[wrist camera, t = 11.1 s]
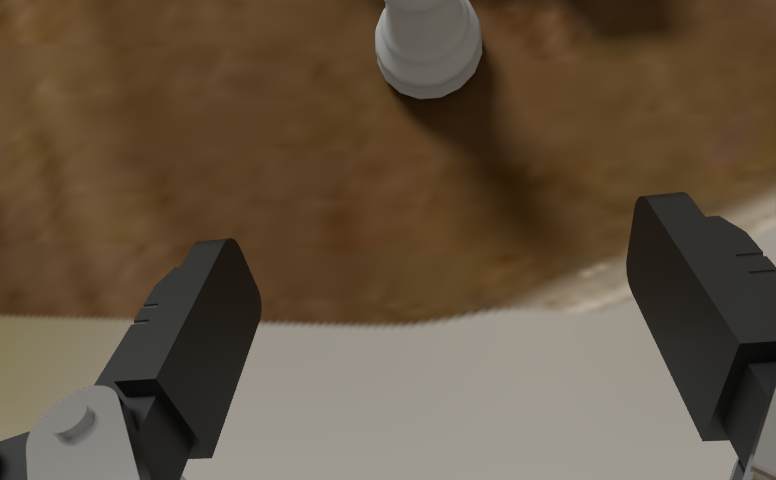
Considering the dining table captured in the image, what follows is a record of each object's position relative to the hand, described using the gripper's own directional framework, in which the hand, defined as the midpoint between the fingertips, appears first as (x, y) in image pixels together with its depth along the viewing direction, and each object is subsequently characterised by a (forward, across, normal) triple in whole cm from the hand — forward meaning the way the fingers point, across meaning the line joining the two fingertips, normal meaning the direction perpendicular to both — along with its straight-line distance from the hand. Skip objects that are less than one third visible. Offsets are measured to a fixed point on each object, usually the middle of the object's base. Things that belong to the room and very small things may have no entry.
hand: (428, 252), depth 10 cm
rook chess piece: (+14, 0, 0) cm, 14 cm away
